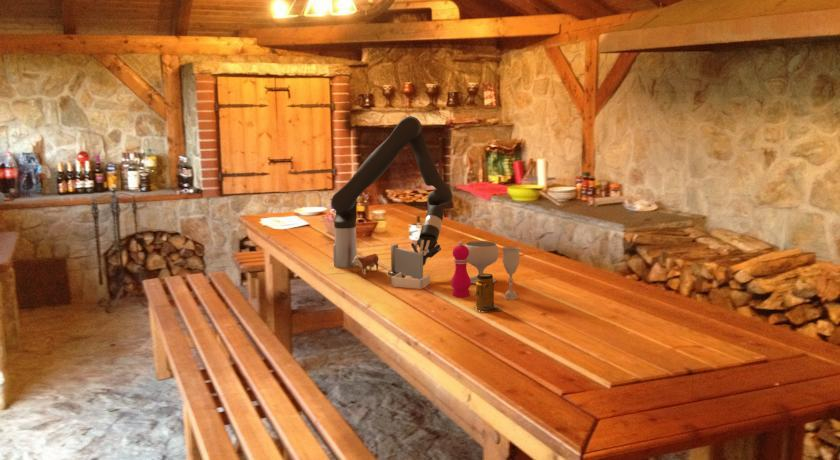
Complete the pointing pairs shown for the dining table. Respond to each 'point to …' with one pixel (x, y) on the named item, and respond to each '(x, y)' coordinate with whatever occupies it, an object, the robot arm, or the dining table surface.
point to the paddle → (406, 262)
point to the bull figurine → (366, 262)
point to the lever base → (392, 273)
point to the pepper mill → (461, 271)
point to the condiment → (485, 293)
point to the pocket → (409, 281)
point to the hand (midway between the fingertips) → (420, 265)
